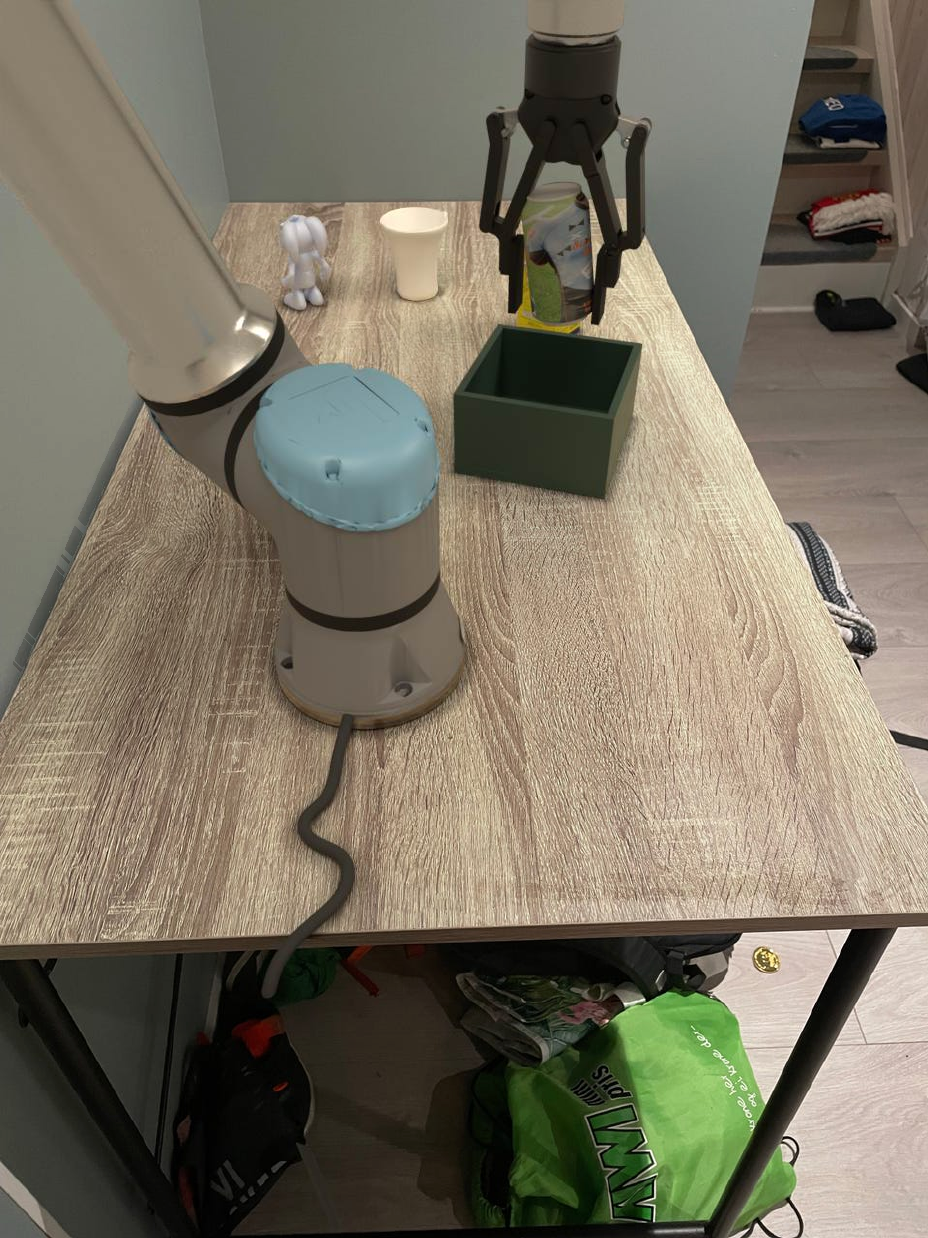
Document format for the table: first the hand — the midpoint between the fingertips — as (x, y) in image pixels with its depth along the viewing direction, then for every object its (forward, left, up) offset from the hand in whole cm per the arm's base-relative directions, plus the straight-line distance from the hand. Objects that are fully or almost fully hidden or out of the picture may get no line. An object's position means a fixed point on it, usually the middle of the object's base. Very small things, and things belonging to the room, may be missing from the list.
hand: (555, 312), depth 87 cm
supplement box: (+25, +6, -15) cm, 30 cm away
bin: (0, 0, -15) cm, 15 cm away
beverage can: (0, 0, -1) cm, 1 cm away
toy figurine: (+24, +39, -15) cm, 48 cm away
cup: (+32, +26, -15) cm, 44 cm away
